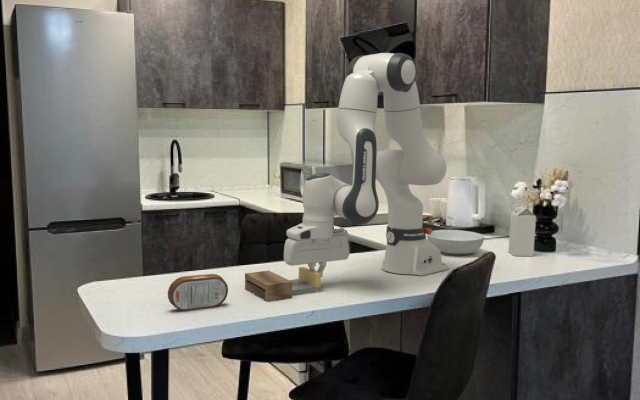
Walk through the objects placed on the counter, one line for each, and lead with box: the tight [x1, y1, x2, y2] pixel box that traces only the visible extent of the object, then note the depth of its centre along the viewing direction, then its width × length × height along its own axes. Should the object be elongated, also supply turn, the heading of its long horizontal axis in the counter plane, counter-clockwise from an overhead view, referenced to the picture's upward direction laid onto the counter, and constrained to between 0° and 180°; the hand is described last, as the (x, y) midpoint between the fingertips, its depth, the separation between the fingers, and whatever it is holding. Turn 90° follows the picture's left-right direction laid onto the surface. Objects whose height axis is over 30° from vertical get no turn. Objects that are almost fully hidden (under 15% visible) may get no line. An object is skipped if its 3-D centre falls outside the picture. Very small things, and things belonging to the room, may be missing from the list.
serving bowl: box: [426, 229, 485, 256], centre depth 225 cm, size 21×21×7 cm
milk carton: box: [508, 202, 537, 257], centre depth 223 cm, size 7×7×19 cm
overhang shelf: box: [244, 270, 293, 302], centre depth 165 cm, size 8×14×4 cm, turn 31°
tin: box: [167, 273, 229, 312], centre depth 151 cm, size 15×3×8 cm, turn 118°
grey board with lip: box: [289, 266, 322, 296], centre depth 170 cm, size 11×10×5 cm
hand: (316, 277), depth 173 cm, fingers closed
